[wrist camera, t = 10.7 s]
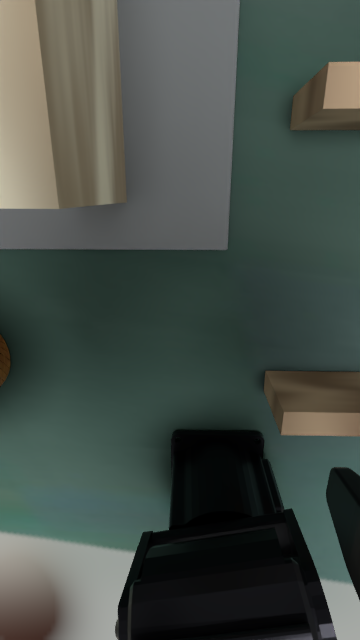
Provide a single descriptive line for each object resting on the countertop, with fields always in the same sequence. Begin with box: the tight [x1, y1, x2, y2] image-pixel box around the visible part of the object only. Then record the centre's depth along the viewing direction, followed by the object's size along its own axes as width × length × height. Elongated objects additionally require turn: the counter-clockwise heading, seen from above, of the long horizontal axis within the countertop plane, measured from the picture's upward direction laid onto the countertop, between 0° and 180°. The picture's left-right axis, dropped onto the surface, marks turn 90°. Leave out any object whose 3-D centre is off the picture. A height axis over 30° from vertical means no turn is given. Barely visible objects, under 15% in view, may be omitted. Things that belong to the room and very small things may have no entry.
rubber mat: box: [0, 0, 240, 250], centre depth 16 cm, size 14×16×1 cm
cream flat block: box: [0, 0, 127, 209], centre depth 11 cm, size 3×11×10 cm, turn 0°
